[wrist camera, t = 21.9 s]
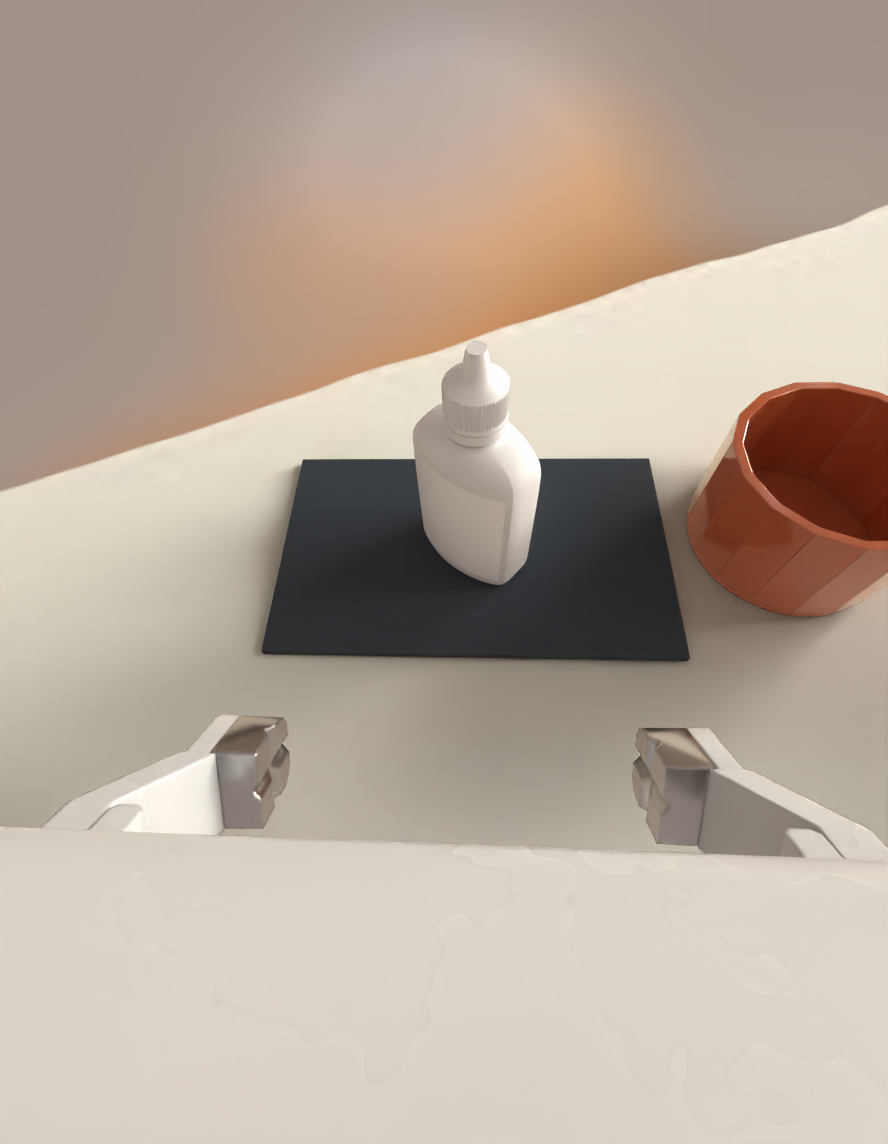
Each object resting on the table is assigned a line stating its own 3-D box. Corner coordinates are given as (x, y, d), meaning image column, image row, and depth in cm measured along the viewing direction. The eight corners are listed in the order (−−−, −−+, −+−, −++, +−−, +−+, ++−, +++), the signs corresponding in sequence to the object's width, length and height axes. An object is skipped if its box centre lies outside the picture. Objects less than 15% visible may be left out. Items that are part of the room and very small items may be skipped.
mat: (263, 654, 26) (260, 651, 25) (304, 463, 32) (302, 459, 31) (687, 661, 25) (690, 658, 24) (647, 462, 31) (649, 458, 30)
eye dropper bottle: (452, 604, 26) (440, 424, 16) (418, 517, 29) (388, 313, 18) (534, 577, 27) (576, 386, 16) (493, 494, 29) (506, 284, 19)
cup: (706, 615, 26) (766, 549, 20) (672, 467, 30) (714, 382, 25) (907, 618, 25) (1021, 551, 20) (841, 467, 30) (920, 380, 25)
